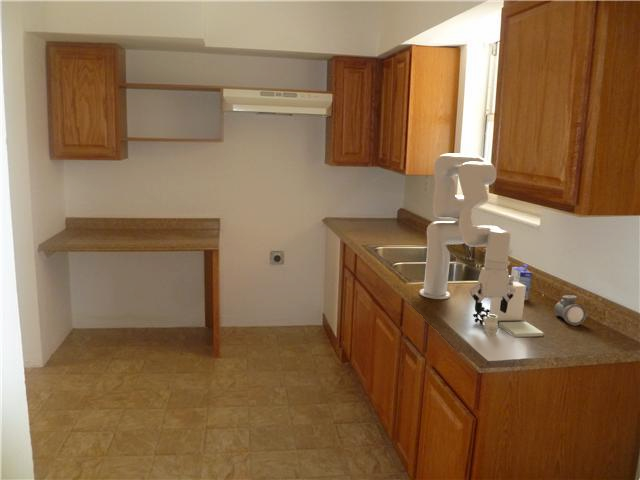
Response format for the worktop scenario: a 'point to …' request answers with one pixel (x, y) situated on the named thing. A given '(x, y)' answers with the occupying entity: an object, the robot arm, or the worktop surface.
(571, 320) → the pipe fitting
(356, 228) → the worktop surface
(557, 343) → the worktop surface
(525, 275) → the ink cartridge box
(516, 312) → the pump housing
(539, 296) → the worktop surface
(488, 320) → the valve
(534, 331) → the pad
